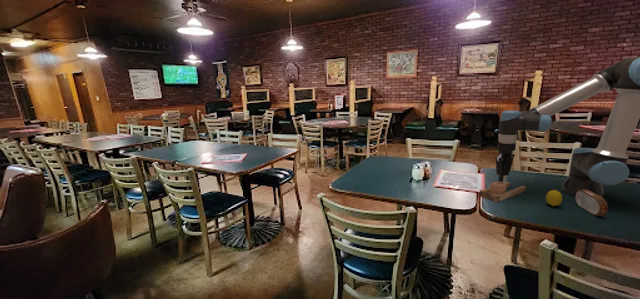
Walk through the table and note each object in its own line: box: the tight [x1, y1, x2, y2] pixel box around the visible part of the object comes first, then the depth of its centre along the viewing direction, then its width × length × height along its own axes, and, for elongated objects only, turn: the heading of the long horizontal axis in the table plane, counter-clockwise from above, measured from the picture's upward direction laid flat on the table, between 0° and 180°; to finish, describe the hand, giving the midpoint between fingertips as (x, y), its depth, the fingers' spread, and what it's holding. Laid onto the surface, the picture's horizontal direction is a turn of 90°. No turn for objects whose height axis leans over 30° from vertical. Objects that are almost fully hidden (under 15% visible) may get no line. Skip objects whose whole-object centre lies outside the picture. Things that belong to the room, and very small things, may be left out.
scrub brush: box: [574, 190, 609, 217], centre depth 116 cm, size 15×3×8 cm, turn 168°
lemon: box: [545, 189, 563, 207], centre depth 122 cm, size 6×6×8 cm
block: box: [489, 181, 507, 195], centre depth 136 cm, size 5×5×6 cm
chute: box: [478, 181, 527, 203], centre depth 138 cm, size 9×25×3 cm, turn 117°
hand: (501, 186), depth 137 cm, fingers closed
